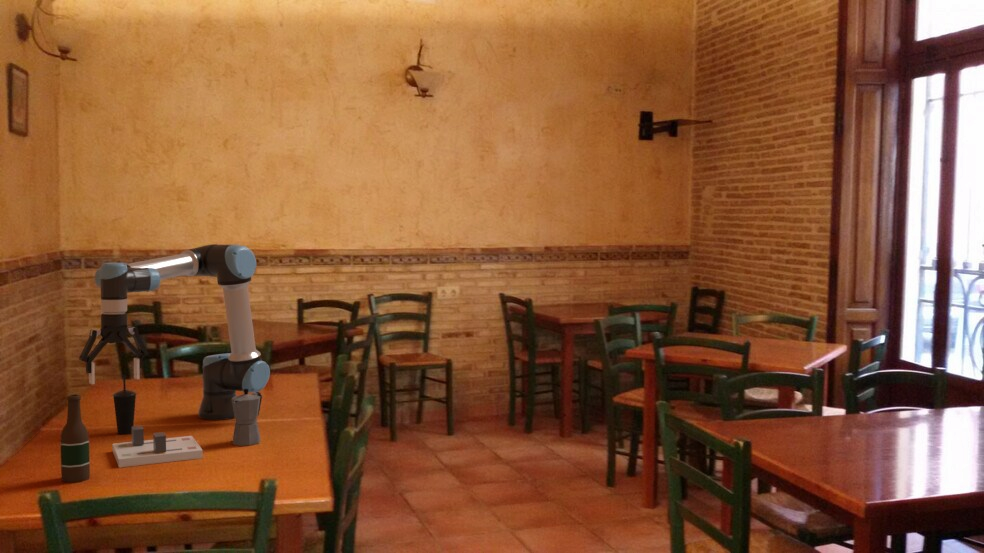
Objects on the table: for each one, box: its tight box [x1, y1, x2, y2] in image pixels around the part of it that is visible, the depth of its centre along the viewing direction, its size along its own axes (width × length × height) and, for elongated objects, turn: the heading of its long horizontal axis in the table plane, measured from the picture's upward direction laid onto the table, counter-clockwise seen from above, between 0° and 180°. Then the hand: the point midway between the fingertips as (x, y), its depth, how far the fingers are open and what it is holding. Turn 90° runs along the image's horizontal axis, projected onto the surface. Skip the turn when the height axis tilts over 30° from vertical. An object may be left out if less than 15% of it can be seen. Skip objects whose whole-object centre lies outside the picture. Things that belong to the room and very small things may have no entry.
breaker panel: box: [112, 435, 204, 469], centre depth 281 cm, size 24×20×3 cm
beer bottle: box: [60, 393, 91, 484], centre depth 254 cm, size 8×8×24 cm
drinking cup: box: [112, 374, 138, 436], centre depth 307 cm, size 8×8×20 cm
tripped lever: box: [152, 431, 167, 453], centre depth 275 cm, size 3×5×5 cm, turn 28°
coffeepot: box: [231, 389, 263, 447], centre depth 297 cm, size 15×9×18 cm, turn 162°
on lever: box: [131, 425, 145, 446], centre depth 283 cm, size 3×5×5 cm, turn 27°
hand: (114, 381), depth 278 cm, fingers open, 13 cm apart
